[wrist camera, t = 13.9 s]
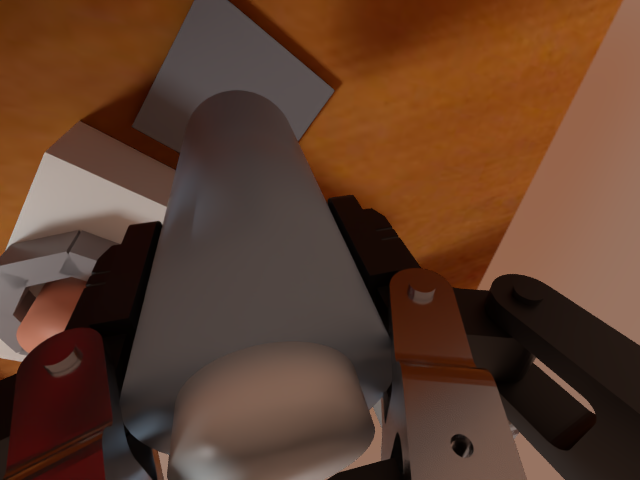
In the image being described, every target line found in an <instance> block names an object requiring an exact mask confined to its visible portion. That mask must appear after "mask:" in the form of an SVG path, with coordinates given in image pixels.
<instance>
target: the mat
mask: <svg viewBox="0 0 640 480" xmlns="http://www.w3.org/2000/svg"><path fill="white" fill-rule="evenodd" d="M230 90H242V91H249V92H253V93H256V94H259V95H261V96H263V97H265V98H267V99H268V100H270V101H271V102H273V103H274V104H275V105H276V106H277V107H278V108H279V109H280V110H281V111H282V112H283V113H284V115H285V116H286V118H287V120H288V122H289V124H290V126H291V128H292V130H293V132H294V134H295V137H296V139H297V141H299V139H300V138H301V137H302V135H303V134H304V132H305V131H306V130H307V128H308V127H309V125H310V124H311V123H312V121H313V120H314V119H315V117H316V116H317V114H318V113H319V112H320V110H321V109H322V107H323V106H324V105H325V103H326V102H327V100H328V99H329V98H330V96H331V95H332V93H333V92H334V91H335V90H334V89H333V88H331V87H330V86H329V85H328V84H327V83H325V82H324V81H323V80H322V79H321V78H320V77H318V76H317V75H316V74H315V73H314V72H312V71H311V70H310V69H309V68H308V67H307V66H305V65H304V64H303V63H302V62H301V61H299V60H298V59H297V58H296V57H295V56H293V55H292V54H291V53H290V52H289V51H288V50H286V49H285V48H284V47H283V46H282V45H280V44H279V43H278V42H277V41H276V40H274V39H273V38H272V37H271V36H270V35H269V34H267V33H266V32H265V31H264V30H263V29H261V28H260V27H259V26H258V25H257V24H255V23H254V22H253V21H252V20H251V19H250V18H248V17H247V16H246V15H245V14H244V13H242V12H241V11H240V10H239V9H238V8H236V7H235V6H234V5H233V4H232V3H231V2H229V1H228V0H194V2H193V4H192V6H191V8H190V10H189V12H188V14H187V16H186V18H185V20H184V22H183V24H182V26H181V28H180V30H179V32H178V35H177V37H176V39H175V41H174V43H173V45H172V47H171V49H170V51H169V53H168V55H167V57H166V59H165V61H164V63H163V65H162V67H161V69H160V71H159V73H158V75H157V77H156V79H155V81H154V83H153V85H152V87H151V89H150V91H149V93H148V95H147V97H146V99H145V101H144V103H143V105H142V107H141V109H140V111H139V113H138V115H137V117H136V119H135V121H134V123H133V125H132V127H133V128H135V129H137V130H138V131H140V132H142V133H144V134H146V135H148V136H149V137H151V138H153V139H155V140H157V141H159V142H160V143H162V144H164V145H166V146H168V147H170V148H172V149H173V150H175V151H177V152H179V153H180V152H181V148H182V144H183V139H184V135H185V131H186V127H187V124H188V121H189V119H190V117H191V115H192V113H193V112H194V111H195V109H196V108H197V107H198V106H199V105H200V104H201V103H202V102H203V101H205V100H206V99H208V98H209V97H211V96H213V95H215V94H218V93H221V92H225V91H230Z"/></svg>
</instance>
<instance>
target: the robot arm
mask: <svg viewBox="0 0 640 480" xmlns="http://www.w3.org/2000/svg"><path fill="white" fill-rule="evenodd" d="M328 207H329V209H330V211H331V213H332V215H333V218H334V220H335V222H336V224H337V226H338V228H339V230H340V232H341V235H342V237H343V239H344V241H345V243H346V245H347V247H348V249H349V252H350V254H351V256H352V258H353V260H354V262H355V264H356V267H357V269H358V271H359V273H360V275H361V277H362V279H363V281H364V284H365V286H366V288H367V290H368V292H369V294H370V296H371V298H372V301H373V303H374V305H375V307H376V309H377V311H378V313H379V316H380V318H381V320H382V322H383V324H384V326H385V328H386V330H387V333H388V335H389V337H390V339H391V341H392V342H391V348H390V349H391V365H392V382H391V384H390V386H389V388H388V389H387V391H385V392H383V395H382V398H381V412H382V447H381V461H379V462H376V463H372V464H369V465H365V466H361V467H358V468H354V469H350V470H347V471H343V472H339V473H337V474H335V475H334V476H332V477H330V478H329V479H328V480H527V478H526V475H525V472H524V469H523V466H522V463H521V460H520V457H519V453H518V450H517V448H516V444H515V441H514V438H513V435H512V432H511V429H510V426H509V423H508V420H509V421H510V422H511V423H512V425H513V426H514V427H515V428H516V429H517V430H518V431H519V432H520V433H521V434H522V435H523V436H524V437H525V438H526V439H527V440H528V441H529V442H530V443H531V444H532V445H533V447H534V448H535V449H536V450H537V451H538V452H539V453H540V454H541V455H542V456H543V457H544V458H545V459H546V460H547V461H548V462H549V463H550V464H551V465H552V467H554V468H555V470H556V471H557V472H558V473H559V474H560V475H561V476H562V477H563V478H564V479H565V480H640V345H638V344H636V343H635V342H633V341H632V340H630V339H629V338H627V337H626V336H624V335H623V334H621V333H620V332H618V331H617V330H615V329H614V328H612V327H610V326H609V325H607V324H606V323H604V322H603V321H601V320H600V319H598V318H597V317H595V316H593V315H592V314H591V313H589V312H587V311H586V310H585V309H583V308H581V307H580V306H578V305H577V304H575V303H574V302H572V301H571V300H569V299H568V298H566V297H565V296H563V295H562V294H560V293H558V292H557V291H556V290H554V289H552V288H551V287H549V286H548V285H546V284H544V283H543V282H541V281H539V280H537V279H534V278H531V277H527V276H524V275H518V274H507V275H502V276H500V277H498V278H496V279H495V280H494V281H493V283H492V285H491V288H490V290H489V291H486V290H472V289H459V288H453V287H452V286H451V285H450V283H449V282H448V281H447V280H446V279H445V278H444V277H442V276H441V275H439V274H437V273H435V272H433V271H430V270H427V269H422V268H421V267H420V266H419V264H418V263H417V261H416V260H415V259H414V257H413V256H412V254H411V253H410V251H409V250H408V249H407V247H406V246H405V244H404V243H403V242H402V240H401V239H400V238H398V235H397V233H396V232H395V230H394V229H392V226H391V225H390V223H389V222H388V220H387V219H386V218H385V216H383V215H382V214H380V213H378V212H377V211H375V210H374V209H372V208H371V209H364V210H363V209H362V208H361V206H360V204H359V203H358V201H357V200H356V198H355V197H354V195H347V196H340V197H332V198H329V199H328ZM161 229H162V223H161V222H160V221H154V222H146V223H139V224H132V225H129V226H128V228H127V231H126V233H125V236H124V238H123V241H122V243H121V244H119V245H112V246H111V247H110V248H109V249H108V250H107V251H106V252H104V253H103V254H102V255H101V256H100V257H99V258H98V259H97V262H96V264H95V266H94V268H93V270H92V272H91V274H92V276H90V277H89V279H88V281H87V283H86V288H84V289H83V292H82V294H81V296H80V298H79V300H78V302H77V304H76V306H75V309H74V311H73V313H72V315H71V317H70V319H69V321H68V324H67V326H66V328H65V330H64V331H63V332H60V333H58V334H56V335H53V336H52V337H50V338H48V339H46V340H45V341H43V342H42V343H40V344H39V345H38V346H36V347H35V348H34V349H33V350H32V351H31V352H30V353H29V354H28V355H27V356H26V357H25V359H24V360H23V361H22V363H21V364H20V367H19V369H18V371H17V374H14V375H12V376H10V377H7V378H5V379H3V380H0V480H164V477H163V473H162V469H161V464H160V460H159V455H158V451H157V450H155V449H153V448H152V447H151V448H150V447H148V446H147V445H145V444H144V443H142V442H140V441H139V440H138V439H137V438H135V437H134V436H133V435H132V434H131V433H130V432H129V430H128V429H127V428H126V426H125V425H124V423H123V418H122V411H121V406H120V405H119V402H120V396H121V391H122V387H123V383H124V379H125V375H126V371H127V367H128V363H129V359H130V354H131V350H132V346H133V342H134V338H135V334H136V330H137V326H138V322H139V318H140V314H141V310H142V306H143V302H144V298H145V294H146V290H147V286H148V281H149V277H150V273H151V269H152V265H153V261H154V257H155V253H156V249H157V245H158V241H159V237H160V233H161ZM536 357H537V358H538V359H539V360H540V361H541V362H542V363H544V364H545V365H546V366H547V367H549V368H550V369H551V370H552V371H553V372H554V373H556V374H557V375H558V376H559V377H560V378H562V379H563V380H564V381H565V382H566V383H568V384H569V385H570V386H571V387H572V388H574V389H575V390H576V391H577V392H578V393H579V394H581V395H582V396H583V397H584V398H585V399H586V400H587V401H588V402H589V403H590V405H591V406H592V407H593V409H594V411H595V413H596V414H594V413H592V412H590V411H589V410H588V409H587V408H585V407H584V406H583V405H582V404H581V403H579V402H578V401H577V400H576V399H575V398H574V397H572V396H571V395H570V394H569V393H568V392H567V391H565V390H564V389H563V388H562V387H561V386H560V385H558V384H557V383H556V382H555V381H554V380H552V379H551V378H550V377H549V376H548V375H547V374H545V373H544V372H543V371H542V370H541V369H540V368H539V367H537V366H536V365H535V364H534V363H533V362H534V360H535V358H536ZM507 419H508V420H507Z"/></svg>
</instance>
